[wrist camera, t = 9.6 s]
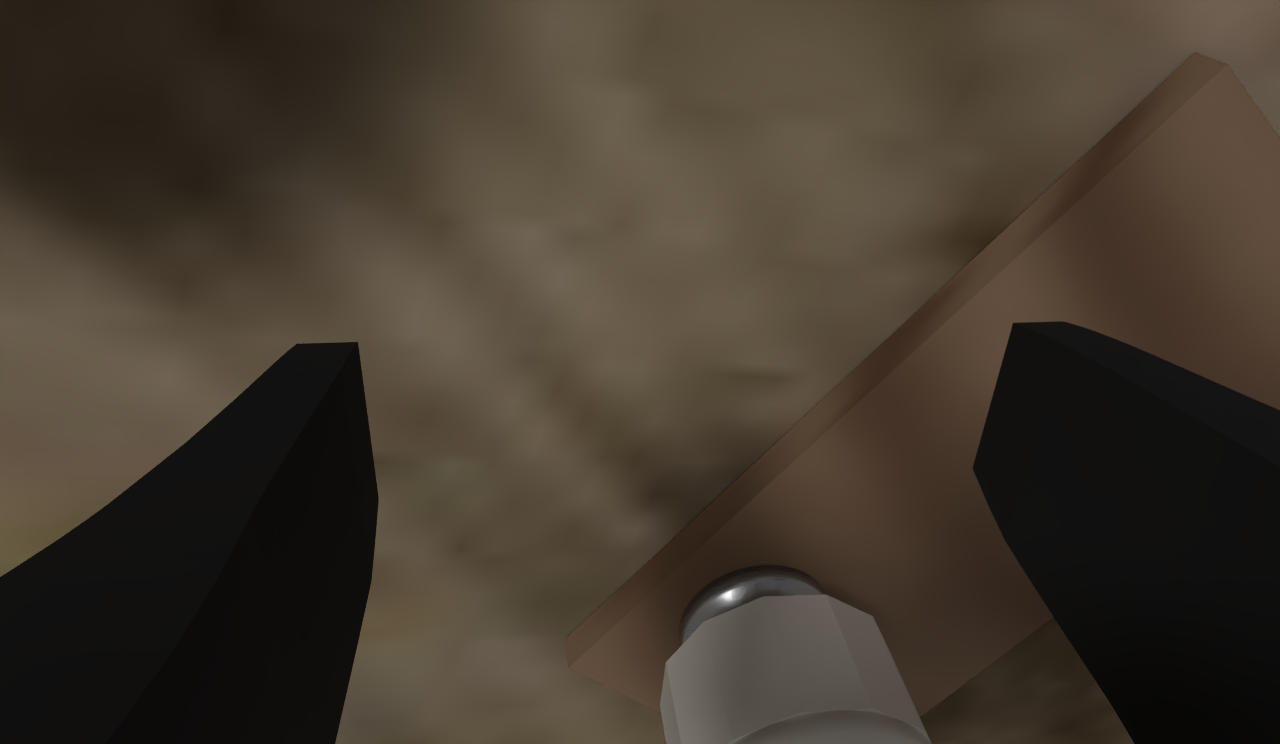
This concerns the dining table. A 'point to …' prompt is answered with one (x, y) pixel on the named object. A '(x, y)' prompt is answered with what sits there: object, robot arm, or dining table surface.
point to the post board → (980, 403)
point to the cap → (788, 679)
